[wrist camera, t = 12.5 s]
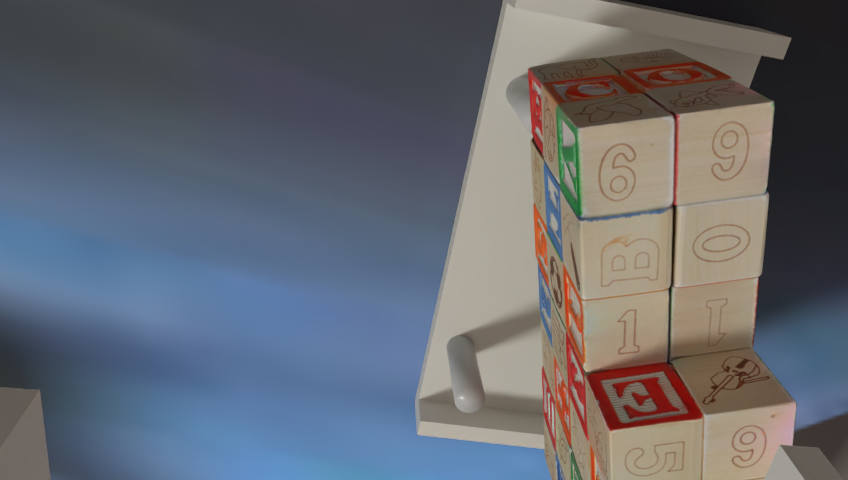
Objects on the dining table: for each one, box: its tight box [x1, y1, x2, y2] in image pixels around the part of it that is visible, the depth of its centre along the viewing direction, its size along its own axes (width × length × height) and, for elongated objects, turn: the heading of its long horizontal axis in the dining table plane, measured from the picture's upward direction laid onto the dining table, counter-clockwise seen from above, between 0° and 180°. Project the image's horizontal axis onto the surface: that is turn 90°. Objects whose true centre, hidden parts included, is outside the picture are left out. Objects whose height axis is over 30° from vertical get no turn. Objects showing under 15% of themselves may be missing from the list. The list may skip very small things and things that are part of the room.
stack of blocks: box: [528, 49, 797, 480], centre depth 29 cm, size 21×6×12 cm, turn 7°
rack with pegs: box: [415, 0, 791, 449], centre depth 37 cm, size 25×13×6 cm, turn 169°
